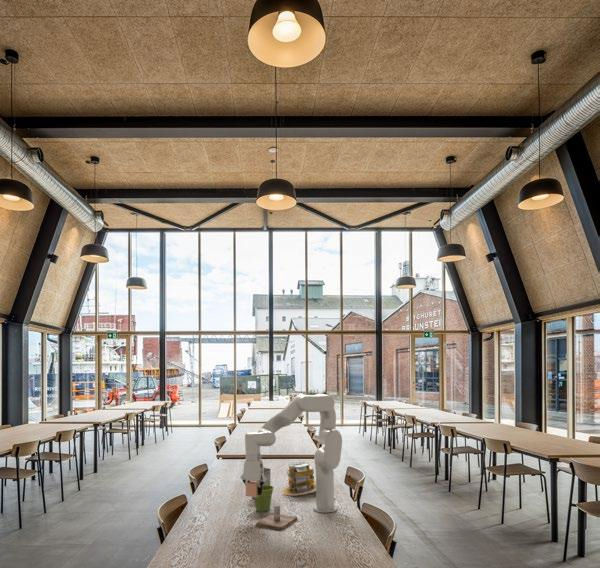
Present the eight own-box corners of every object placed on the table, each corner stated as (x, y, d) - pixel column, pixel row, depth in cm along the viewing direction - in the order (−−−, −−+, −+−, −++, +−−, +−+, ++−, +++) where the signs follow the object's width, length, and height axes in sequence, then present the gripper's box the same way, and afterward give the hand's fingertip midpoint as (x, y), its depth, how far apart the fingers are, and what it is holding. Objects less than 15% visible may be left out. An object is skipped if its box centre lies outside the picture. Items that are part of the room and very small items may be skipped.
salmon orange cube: (252, 492, 256) (251, 480, 256) (262, 493, 253) (261, 481, 254) (245, 496, 250) (245, 483, 251) (256, 497, 248) (255, 484, 248)
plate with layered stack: (279, 497, 286) (279, 467, 288) (284, 485, 311) (284, 457, 313) (322, 498, 284) (321, 467, 286) (324, 486, 309) (323, 458, 311)
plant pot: (277, 511, 261) (277, 489, 263) (255, 514, 257) (255, 491, 258) (270, 505, 272) (270, 483, 274) (249, 507, 268) (249, 485, 269)
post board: (272, 516, 254) (272, 499, 255) (297, 520, 248) (297, 503, 249) (256, 526, 240) (256, 508, 241) (281, 530, 234) (281, 512, 235)
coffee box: (251, 497, 286) (251, 468, 288) (258, 495, 291) (258, 466, 293) (264, 500, 281) (264, 470, 283) (271, 497, 286) (270, 468, 288)
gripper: (271, 456, 253) (272, 493, 251) (242, 454, 261) (243, 490, 259) (263, 459, 247) (265, 497, 245) (234, 457, 254) (235, 494, 252)
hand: (254, 493), depth 252 cm, fingers closed on salmon orange cube, 5 cm apart
